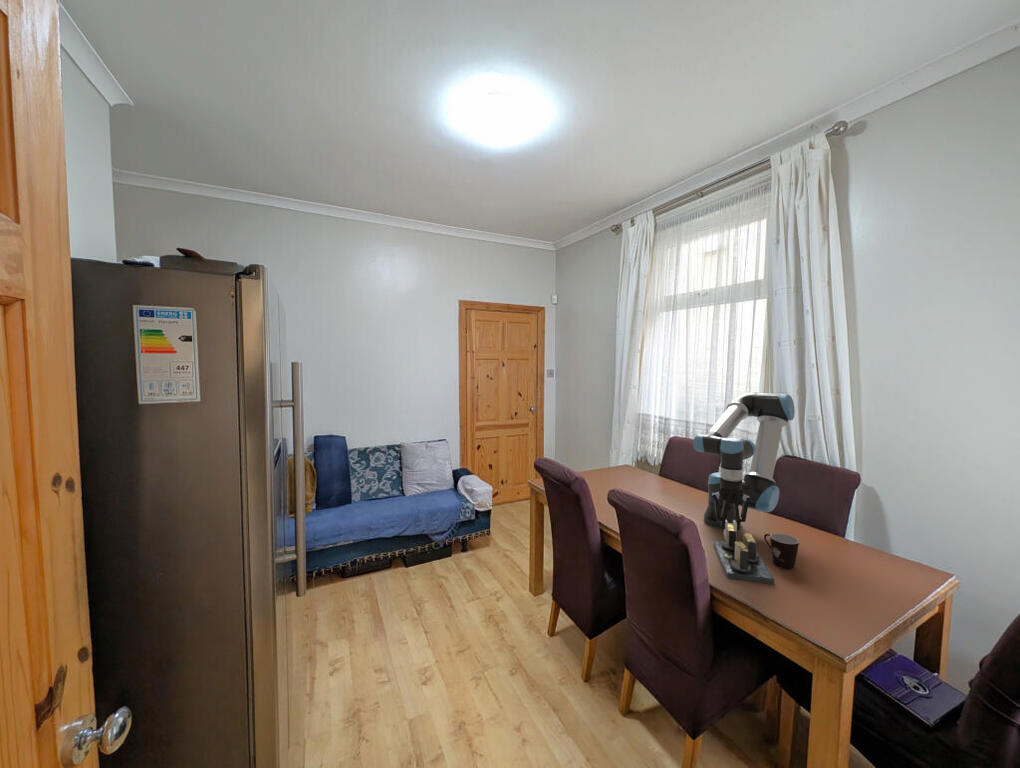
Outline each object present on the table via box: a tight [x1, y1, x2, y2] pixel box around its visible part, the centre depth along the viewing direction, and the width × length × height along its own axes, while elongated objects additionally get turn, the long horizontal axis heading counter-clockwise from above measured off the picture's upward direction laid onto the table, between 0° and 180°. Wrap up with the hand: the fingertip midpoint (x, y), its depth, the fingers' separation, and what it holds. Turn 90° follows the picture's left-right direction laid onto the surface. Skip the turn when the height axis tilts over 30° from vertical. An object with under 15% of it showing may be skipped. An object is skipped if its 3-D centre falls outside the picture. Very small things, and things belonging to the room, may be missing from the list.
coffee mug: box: [763, 532, 800, 571], centre depth 141 cm, size 12×9×10 cm
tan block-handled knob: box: [720, 523, 737, 551], centre depth 149 cm, size 7×6×8 cm
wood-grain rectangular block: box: [742, 532, 759, 563], centre depth 140 cm, size 7×6×8 cm
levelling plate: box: [713, 540, 775, 585], centre depth 141 cm, size 24×14×3 cm, turn 162°
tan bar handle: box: [731, 540, 751, 573], centre depth 134 cm, size 7×6×8 cm
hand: (730, 537), depth 149 cm, fingers closed on tan block-handled knob, 2 cm apart
